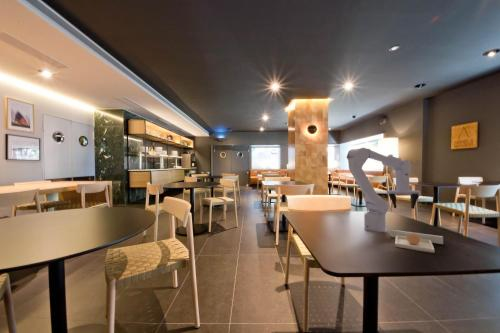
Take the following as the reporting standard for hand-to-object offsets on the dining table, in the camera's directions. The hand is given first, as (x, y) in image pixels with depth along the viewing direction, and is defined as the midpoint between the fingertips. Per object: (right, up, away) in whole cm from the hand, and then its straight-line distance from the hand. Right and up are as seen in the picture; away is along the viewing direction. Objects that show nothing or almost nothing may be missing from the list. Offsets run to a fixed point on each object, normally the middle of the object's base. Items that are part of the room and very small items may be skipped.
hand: (403, 208), depth 109 cm
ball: (-14, -8, -24) cm, 29 cm away
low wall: (-8, -10, -18) cm, 22 cm away
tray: (-14, -10, -24) cm, 29 cm away
